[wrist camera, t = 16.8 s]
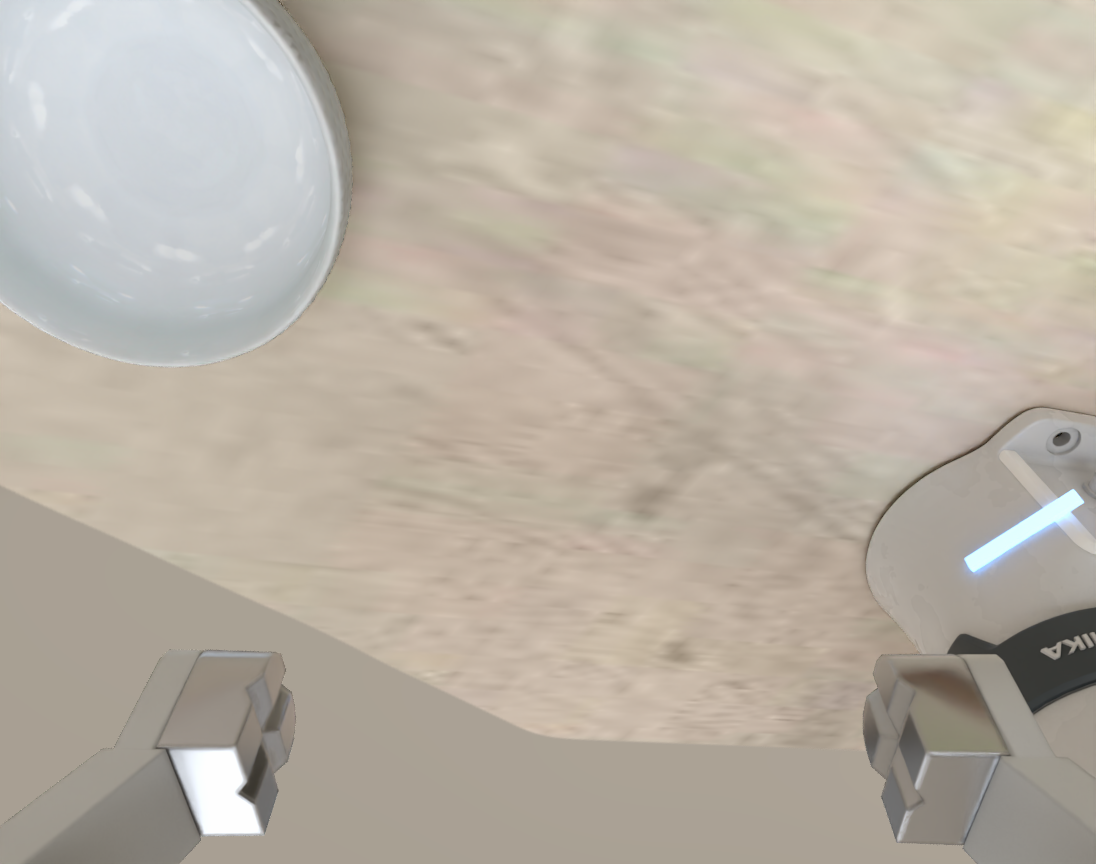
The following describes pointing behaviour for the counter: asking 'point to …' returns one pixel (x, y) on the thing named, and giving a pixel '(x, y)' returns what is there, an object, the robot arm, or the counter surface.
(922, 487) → the robot arm
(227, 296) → the cereal bowl
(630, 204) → the counter surface
